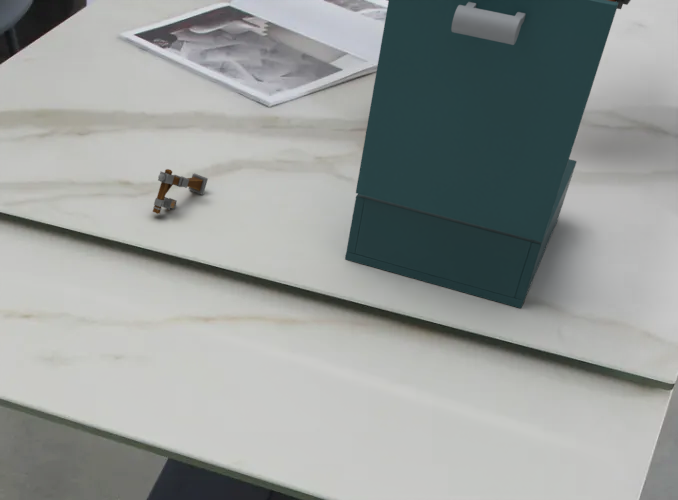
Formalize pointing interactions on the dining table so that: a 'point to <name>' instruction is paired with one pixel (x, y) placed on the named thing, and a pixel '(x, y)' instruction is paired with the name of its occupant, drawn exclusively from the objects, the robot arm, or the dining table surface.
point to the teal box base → (449, 248)
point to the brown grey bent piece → (168, 180)
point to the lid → (481, 106)
